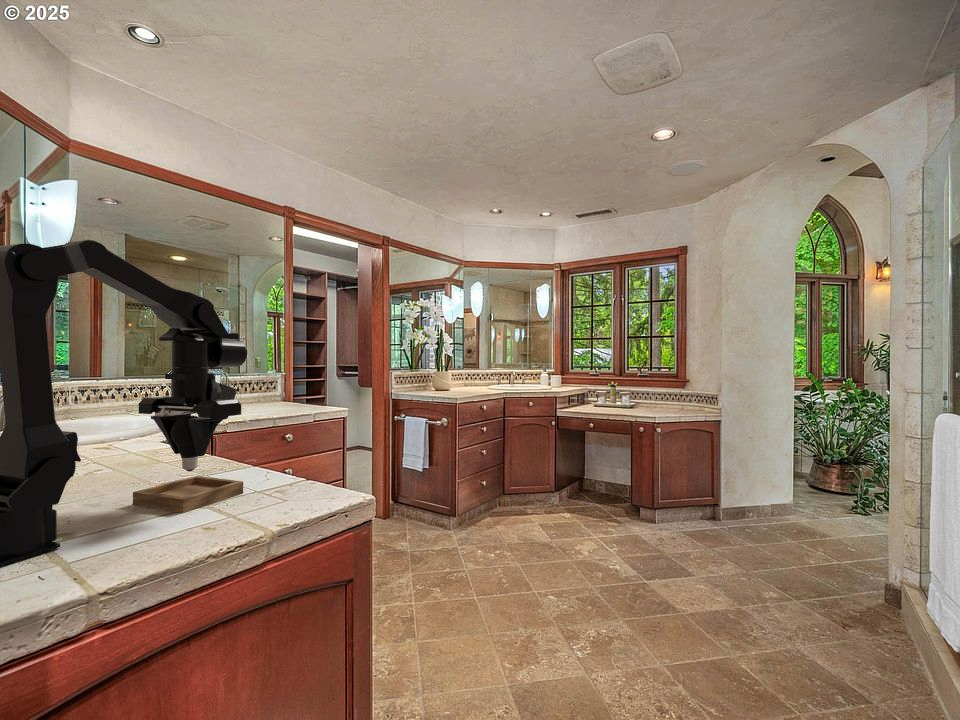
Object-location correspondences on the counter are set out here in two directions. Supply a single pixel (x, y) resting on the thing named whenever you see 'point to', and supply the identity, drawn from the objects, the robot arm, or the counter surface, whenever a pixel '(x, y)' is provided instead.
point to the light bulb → (185, 443)
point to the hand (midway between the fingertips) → (189, 454)
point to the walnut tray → (187, 493)
